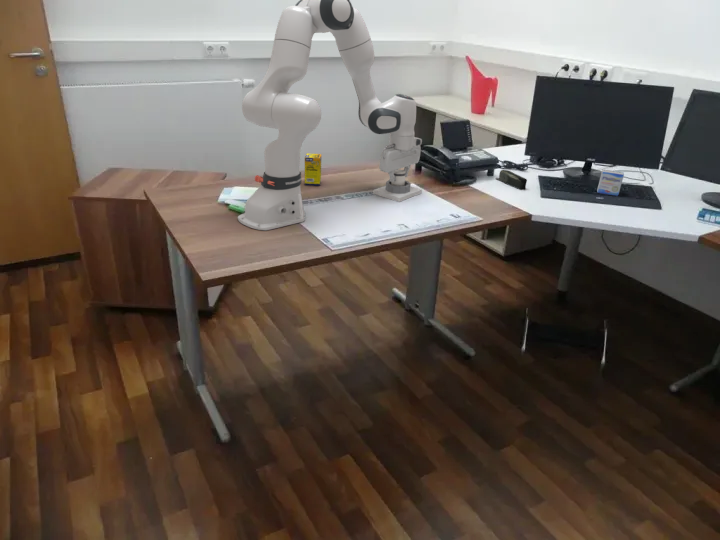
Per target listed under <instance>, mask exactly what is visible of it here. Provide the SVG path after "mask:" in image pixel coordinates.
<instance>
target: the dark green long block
mask: <svg viewBox="0 0 720 540" xmlns="http://www.w3.org/2000/svg"><path fill="white" fill-rule="evenodd" d="M495 180H497V181H499V182H502V183H504V184H506V185H508V186H509V187H513V188H515V189H516V190H520V191H522V190H523V191H525V190H526V187H527V181H528V179H527V178H525V177H523V176H521V175H519V174H517V173H515V172H512V171H511V170H507V169H501V170H500V171H499V175H498V177H495Z"/></svg>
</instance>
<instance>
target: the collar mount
mask: <svg viewBox="0 0 720 540" xmlns="http://www.w3.org/2000/svg"><path fill="white" fill-rule="evenodd" d="M422 190H423V189H422V188H418V187H414V186H412V185H411V182H409V181H408V180H405V186H393V185H391V181H390V180H389V179H388V180H386V182H385V185H383V186H381V187H378V188H375V189H373V192H372V193H373V195H375V196H378V197H379V196H380V197H382V198H386V199H389V200H391V199H392V201H394V200H395V202H397V201H398V203H400V202H403V201H406V200H407V199H410V197H411V198H414V197H415V195H416V196H417V195H420V193H421V194H422Z"/></svg>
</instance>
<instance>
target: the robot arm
mask: <svg viewBox="0 0 720 540" xmlns="http://www.w3.org/2000/svg"><path fill="white" fill-rule="evenodd" d="M325 33H330V34H331V35H332V36H333V37H334V39H335V43H336V47H337V49H338V53H339V55H340V57H341V60H342V62H343V64H344V67H346V70H347V71H348V73H349V75H350V77H351V81H352V82H353V86H354V89H355V92H356V95H357V99H358V119H359V121H360V123H361V124H362V125H363V126H364V127H365V128H368V129H369V130H370V131H371V132H372V133H374V134H377V135H384V134H385V135H386V134H389V138H388V140H389V141H388V145H385V146H384V148H383V149H382V151H381V154H380V159H379V165H378V168H379V171H380V172H383V173H387V174H388V177H389V178H388V180H390V181H391V182H394V181H396V177H395V176H394V173H395V170H397V169H400V170H401V169H402V168H403V170H404V171H406V175H405V178H408V176H409V175H408V174H409V171H410V169H411V165H415V164H418V163H419V161H420V159H421V158H420V157H421V149H422V148H421V145H422V144H423V143H422V142H423V139H422V138H419V137H415V124H416V122H417V120H416V119H417V102H416V100H415V99H414V98H413V97H411V96H408V95H406V94H401V93H400V94H399V93H398V94H395V95H394V96H392V97H391V98H389V99H387V100H386V101H383V102H382V101H381V100H380V99H379V98H378V96H377V95H376V92H375V88H374V85H373V81H372V77H371V69H372V68H371V67H372V66H373V64H374V62H375V50H374V49H375V48H374V45H373V41H372V39H371V35H370V32H369V29H368V27H367V25H366V22H365V20H364V18H363V16H362V15H361V12H360V11H359V10H358V9H357V8H356V7H353V5H352V2H351V1H350V0H299V1H298V2H296V4H295V5H289V6H287V7H285V8H284V9H283V10H282V12H281V15H280V17H279V20H278V22H277V25H276V29H275V34H274V39H273V46H272V51H271V55H270V59H269V65H268V68H267V70H266V73H265V74H264V76H263V77H262V79H261V80H260V82H259V83H258V84H257V85H256V86H255V87H254V88H253V89H251V90H250V91H248V92H247V93H246V94H245V96H244V97H243V100H242V103H241V110H242V114H243V117H244V118H245V120H246V121H248V122H249V123H251V124H254V125H256V126H258V127H263V128H270V129H276V130H278V137H277V139H275V140H272V141H271V142H269V143H268V144H267V145H266V147H265V148H264V152H263V153H264V172H263V175H262V176H260V175H255V176H254V181H255V182H257V183H260V185H259V187H257V189H256V190H255V192H253V194H252V195H251V196H250V197H249V198H248V199H247V200H246V202H245V206H244V207H245V208H244V213H241V214H240V215H238V216H237V220H238V222H239V223H240V224H242V225H244V226H246V227H248V228H252V229H254V230H257V231H258V230H259V231H270V230H274V229H277V228H282V227H286V226H290V225H295V224H298V223H303V222H305V221H306V219H305V216H306V212H305V209H304V204H303V198H302V190H301V184H302V172H301V171H300V170H301V167H300V166H301V151H302V147H303V144H304V143H305V140H306V138H307V137H308V135H309V134H311V133H312V132H313V131H315V130H316V129H318V128H317V127H318V126H319V124H320V122H321V119H322V110H321V109H322V108H321V105H320V104H319V102H318V101H317V100H316V99H314V98H312V97H309V96H307V95H305V94H304V95H303V94H299V93H292V92H291V93H290V92H289V90H290V88H291V87H292V86H293V85H294V84H296V83H297V82H300V81H301V80H303V79H304V78H305V77H306V75H307V72H308V66H309V60H310V54H311V50H312V48H311V47H312V41H313V40H312V39H313V37H314V35H315V34H325Z"/></svg>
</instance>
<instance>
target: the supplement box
mask: <svg viewBox="0 0 720 540" xmlns="http://www.w3.org/2000/svg"><path fill="white" fill-rule="evenodd" d="M321 183H322V153H306V154H305V156H304V186H313V187H320V186H321Z"/></svg>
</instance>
